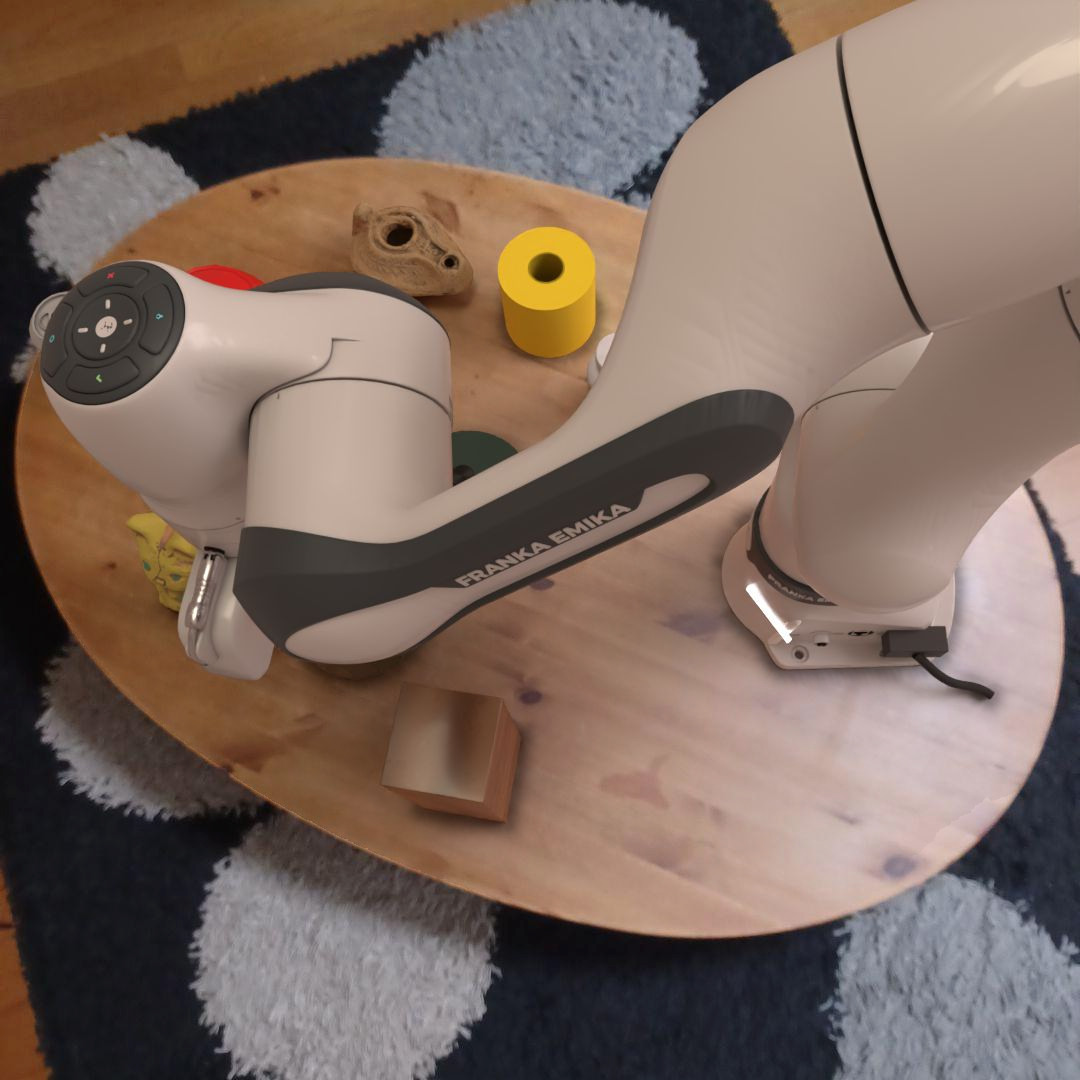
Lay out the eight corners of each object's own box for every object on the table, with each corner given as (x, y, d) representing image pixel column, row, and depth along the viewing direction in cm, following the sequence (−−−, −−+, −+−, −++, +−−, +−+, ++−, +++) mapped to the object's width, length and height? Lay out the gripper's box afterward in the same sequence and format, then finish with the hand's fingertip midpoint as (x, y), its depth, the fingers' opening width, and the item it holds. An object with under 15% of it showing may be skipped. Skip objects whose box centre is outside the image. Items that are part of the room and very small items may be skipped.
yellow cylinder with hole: (566, 372, 109) (563, 325, 101) (488, 333, 112) (479, 284, 103) (612, 302, 112) (613, 251, 103) (535, 265, 114) (529, 212, 105)
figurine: (153, 604, 103) (83, 557, 89) (197, 530, 105) (135, 473, 91) (248, 647, 101) (191, 605, 87) (290, 570, 103) (242, 518, 89)
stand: (521, 737, 96) (502, 697, 78) (506, 822, 94) (483, 803, 75) (440, 723, 97) (402, 681, 78) (422, 808, 95) (379, 785, 76)
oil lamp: (461, 328, 112) (452, 287, 104) (339, 293, 114) (321, 250, 107) (496, 249, 115) (489, 203, 108) (376, 216, 118) (361, 169, 110)
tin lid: (542, 444, 107) (539, 424, 102) (519, 562, 102) (516, 547, 98) (419, 427, 108) (411, 407, 104) (391, 543, 104) (382, 528, 99)
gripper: (237, 661, 54) (306, 707, 67) (326, 329, 60) (373, 430, 73) (125, 643, 54) (215, 693, 67) (226, 316, 61) (290, 419, 74)
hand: (298, 553), depth 70 cm, fingers closed on block, 4 cm apart
